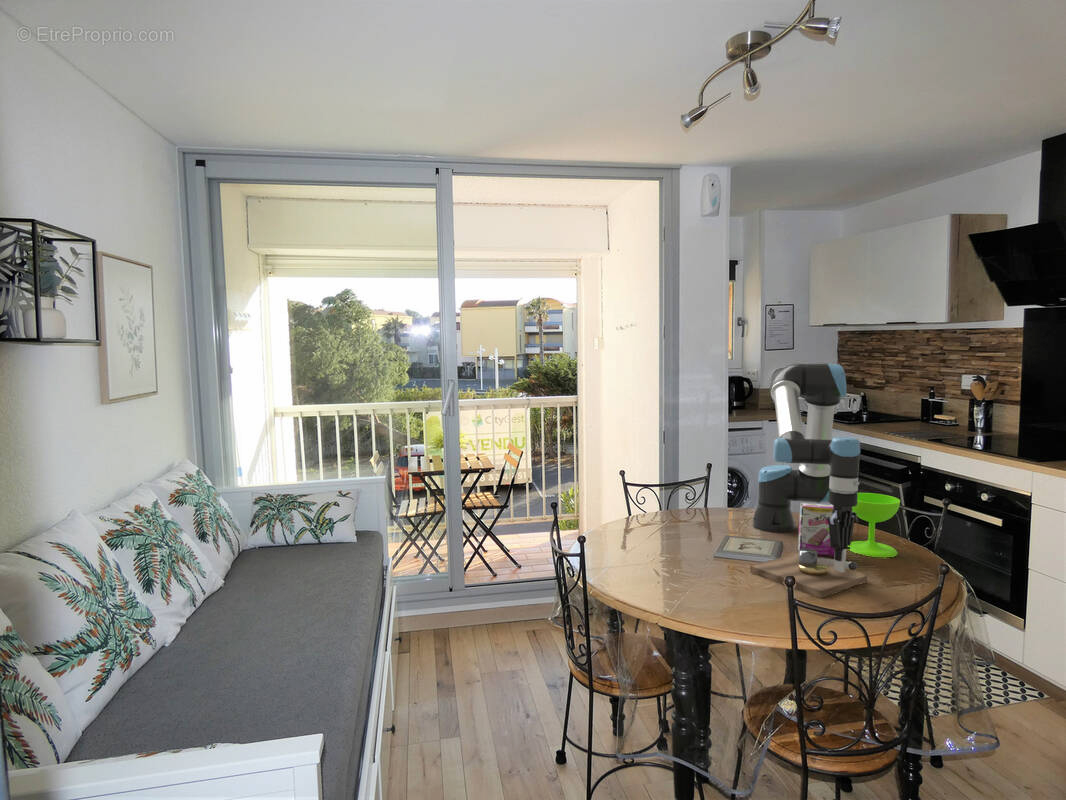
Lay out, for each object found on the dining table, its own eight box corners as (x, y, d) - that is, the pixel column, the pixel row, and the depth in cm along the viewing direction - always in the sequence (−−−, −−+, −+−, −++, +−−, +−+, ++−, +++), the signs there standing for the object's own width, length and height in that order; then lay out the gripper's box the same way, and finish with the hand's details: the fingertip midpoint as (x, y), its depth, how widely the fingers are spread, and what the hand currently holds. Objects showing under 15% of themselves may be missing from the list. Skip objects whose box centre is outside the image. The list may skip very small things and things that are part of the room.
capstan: (797, 572, 192) (797, 553, 192) (800, 563, 199) (800, 546, 199) (856, 581, 185) (857, 562, 184) (857, 572, 192) (858, 553, 191)
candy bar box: (799, 554, 216) (801, 505, 214) (797, 549, 220) (799, 502, 219) (836, 557, 213) (838, 508, 211) (833, 552, 217) (835, 504, 216)
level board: (750, 572, 199) (750, 565, 199) (796, 558, 211) (796, 552, 211) (820, 598, 179) (821, 590, 179) (867, 581, 191) (867, 574, 190)
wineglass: (848, 540, 230) (850, 490, 229) (900, 548, 221) (902, 496, 220) (840, 552, 217) (842, 499, 216) (895, 561, 208) (897, 506, 207)
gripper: (845, 496, 180) (841, 579, 182) (866, 490, 188) (862, 569, 190) (819, 491, 186) (815, 571, 188) (841, 486, 194) (837, 563, 196)
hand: (839, 570), depth 189 cm, fingers closed
